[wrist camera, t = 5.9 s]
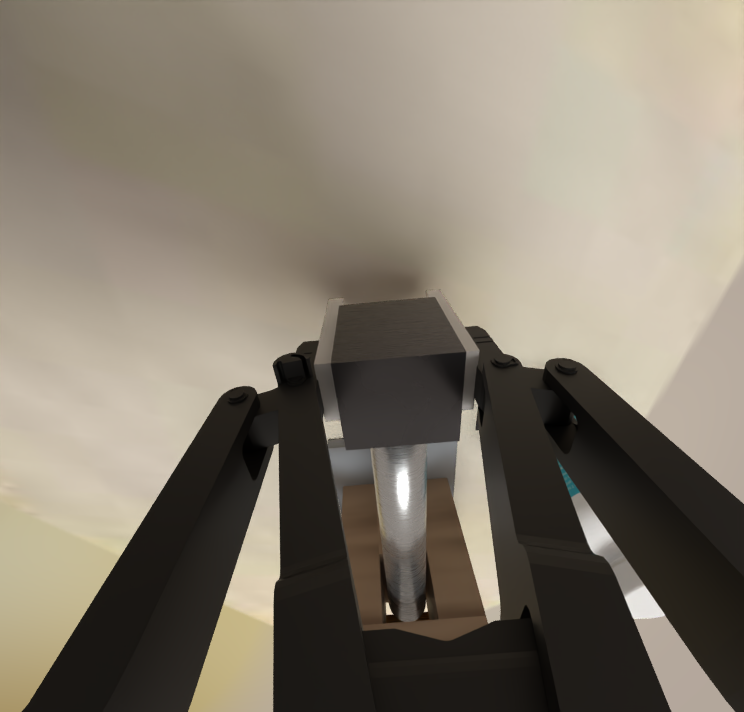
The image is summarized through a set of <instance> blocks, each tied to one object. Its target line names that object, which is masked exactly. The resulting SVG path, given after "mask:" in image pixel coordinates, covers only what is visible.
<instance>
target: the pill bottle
mask: <svg viewBox="0 0 744 712" xmlns="http://www.w3.org/2000/svg"><path fill="white" fill-rule="evenodd" d="M574 418H575V419H576V417H575V416H574ZM556 459H557V458H556ZM557 461H558V460H557ZM558 464H559V467H560V469H561V472H562V475H563V477H564V480H565V483H566V486H567V488H568V491H569V494H570V496H571V499H572V502H573V504H574V507H575V510H576V512H577V515H578V518H579V521H580V523H581V526H582V529H583V531H584V534H585V537H586V539H587V542H588V545H589V547H590V549H591V550H592V552H593V553H594V554H596V555H600V556H603V557H604V558H605V559H606V560H607V561H608V563H609V564H610V566H611V568H612V569H613V571H614V573H615V575H616V578H617V580H618V583H619V585H620V587H621V590H622V592H623V595H624V597H625V600H626V602H627V605H628V607H629V610H630V612H631V614H632V617H633V618H636V619H647V618H656V617H662V616H665V614H664V613H663V611H662V610H661V608H660V607H659V606H658V604H657V603H656V601H655V600H654V598H653V597H652V595H651V594H650V593H649V591H648V590H647V588H646V587H645V585H644V584H643V582H642V581H641V580H640V578H639V577H638V575H637V574H636V572H635V571H634V569H633V568H632V567H631V565H630V564H629V562H628V561H627V559H626V558H625V556H624V555H623V554H622V552H621V551H620V549H619V548H618V546H617V545H616V543H615V542H614V541H613V539H612V538H611V536H610V535H609V533H608V532H607V530H606V529H605V528H604V526H603V525H602V523H601V522H600V520H599V519H598V517H597V516H596V515H595V513H594V512H593V510H592V509H591V507H590V506H589V504H588V503H587V502H586V500H585V499H584V497H583V496H582V494H581V493H580V491H579V490H578V489H577V487H576V486H575V484H574V483H573V481H572V480H571V478H570V477H569V476H568V474H567V473H566V471H565V470H564V468H563V467H562V466H561V464H560V463H559V461H558Z"/></svg>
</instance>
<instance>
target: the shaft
mask: <svg viewBox="0 0 744 712" xmlns="http://www.w3.org/2000/svg"><path fill="white" fill-rule="evenodd" d="M465 363H466V350H465V348H464V347H463V345H462V343H461V341H460V340H459V338H458V336H457V334H456V333H455V331H454V329H453V327H452V326H451V324H450V322H449V320H448V319H447V317H446V315H445V313H444V312H443V310H442V308H441V307H440V305H439V303H438V301H437V300H436V298H435V297H429V298H418V299H407V300H396V301H384V302H373V303H362V304H351V305H340V306H339V309H338V316H337V323H336V330H335V337H334V344H333V350H332V357H331V369H332V375H333V380H334V386H335V392H336V397H337V403H338V409H339V414H340V420H341V426H342V431H343V437H344V443H345V449H346V450H358V449H370V450H371V458H372V467H373V475H374V483H375V492H376V500H377V508H378V517H379V525H380V534H381V542H382V550H383V559H384V567H385V575H386V584H387V592H388V601H389V606H390V609H391V611H392V613H393V614H394V615H395V617H397V618H398V619H399V620H401V621H404V622H411V621H415V620H417V619H418V618H419V617H420V616H421V615H422V614H423V612H424V609H425V605H426V505H427V444H430V443H442V442H454V441H459V438H460V426H461V413H462V401H463V388H464V376H465Z"/></svg>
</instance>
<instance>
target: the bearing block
mask: <svg viewBox="0 0 744 712" xmlns="http://www.w3.org/2000/svg"><path fill="white" fill-rule="evenodd" d="M328 450H329V455H330V460H331V465H332V470H333V476H334V481H335V486H336V491H337V496H338V500H339V505H340V510H341V514H342V522H343V527H344V532H345V538H346V543H347V548H348V553H349V558H350V563H351V569H352V574H353V579H354V584H355V589H356V594H357V600H358V605H359V610H360V615H361V620H362V625H363V630H364V631H367V630H380V629H393V628H395V629H399V630H403V631H407V632H411V633H415V634H419V635H423V636H427V637H431V638H435V639H439V640H443V641H450V640H453V639H455V638H458V637H460V636H462V635H464V634H466V633H469V632H471V631H473V630H475V629H478V628H480V627H482V626H484V625H487V624H488V622H487V618H486V615H485V611H484V608H483V604H482V600H481V597H480V593H479V590H478V586H477V583H476V579H475V575H474V572H473V568H472V565H471V561H470V558H469V554H468V550H467V547H466V543H465V540H464V536H463V533H462V529H461V526H460V522H459V518H458V515H457V511H456V508H455V504H454V501H453V493H454V480H455V467H456V454H457V441H454V442H442V443H430V444H427V505H426V602H427V608H428V615H429V620H424V621H411V622H398V623H387V620H386V602H389V601H388V592H387V584H386V575H385V567H384V559H383V550H382V542H381V534H380V525H379V517H378V508H377V500H376V492H375V483H374V475H373V467H372V458H371V450H370V449H358V450H346V449H345V443H344V439H333V440H328Z"/></svg>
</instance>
